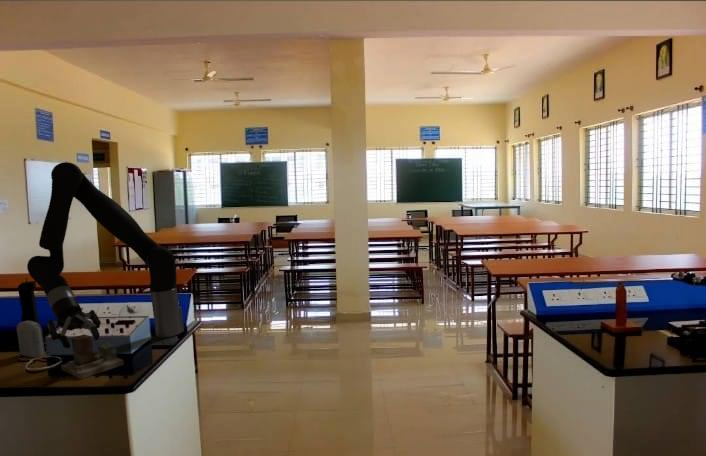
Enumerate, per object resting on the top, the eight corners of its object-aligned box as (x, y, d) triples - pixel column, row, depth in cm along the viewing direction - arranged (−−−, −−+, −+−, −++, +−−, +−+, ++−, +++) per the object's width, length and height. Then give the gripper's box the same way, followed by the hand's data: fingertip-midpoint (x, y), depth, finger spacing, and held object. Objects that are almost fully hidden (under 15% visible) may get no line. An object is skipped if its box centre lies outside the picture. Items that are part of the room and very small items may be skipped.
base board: (103, 356, 171) (101, 341, 171) (123, 364, 161) (121, 347, 161) (61, 369, 161) (59, 353, 161) (80, 379, 152) (78, 361, 151)
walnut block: (88, 361, 163) (84, 334, 162) (95, 364, 160) (91, 336, 159) (75, 365, 160) (71, 338, 159) (81, 368, 157) (77, 340, 156)
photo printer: (47, 354, 180) (42, 320, 179) (34, 358, 176) (29, 323, 175) (31, 351, 185) (26, 318, 184) (18, 355, 181) (13, 321, 180)
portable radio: (26, 337, 205) (17, 276, 203) (43, 334, 208) (34, 274, 205) (23, 342, 198) (13, 279, 196) (41, 339, 201) (31, 277, 198)
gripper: (41, 301, 158) (60, 342, 151) (88, 291, 168) (108, 329, 162) (37, 316, 162) (56, 357, 155) (84, 305, 172) (103, 342, 166)
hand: (83, 342), depth 159 cm, fingers open, 8 cm apart
